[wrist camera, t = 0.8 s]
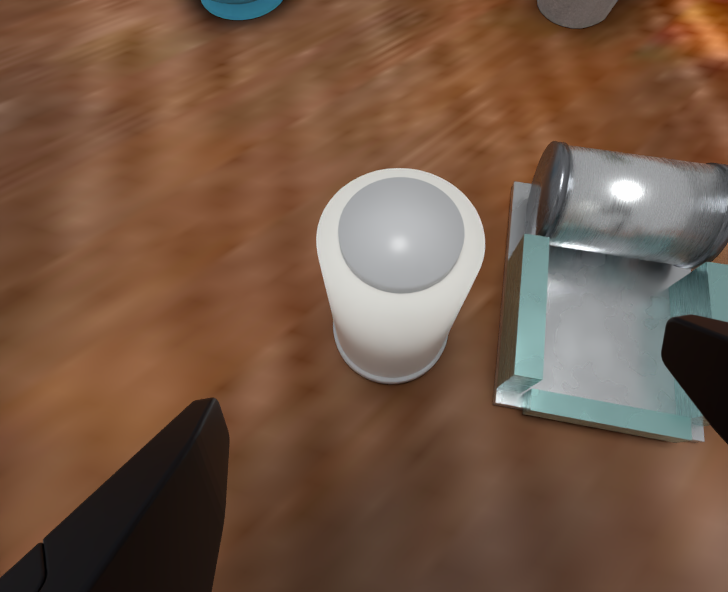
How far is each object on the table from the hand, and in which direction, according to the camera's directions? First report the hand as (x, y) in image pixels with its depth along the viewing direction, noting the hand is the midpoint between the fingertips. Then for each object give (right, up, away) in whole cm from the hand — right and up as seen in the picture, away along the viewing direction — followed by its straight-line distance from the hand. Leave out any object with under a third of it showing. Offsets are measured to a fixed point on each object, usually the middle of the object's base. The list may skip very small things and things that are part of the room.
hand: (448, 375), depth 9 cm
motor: (+11, +1, +16) cm, 19 cm away
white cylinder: (0, 0, +15) cm, 15 cm away
